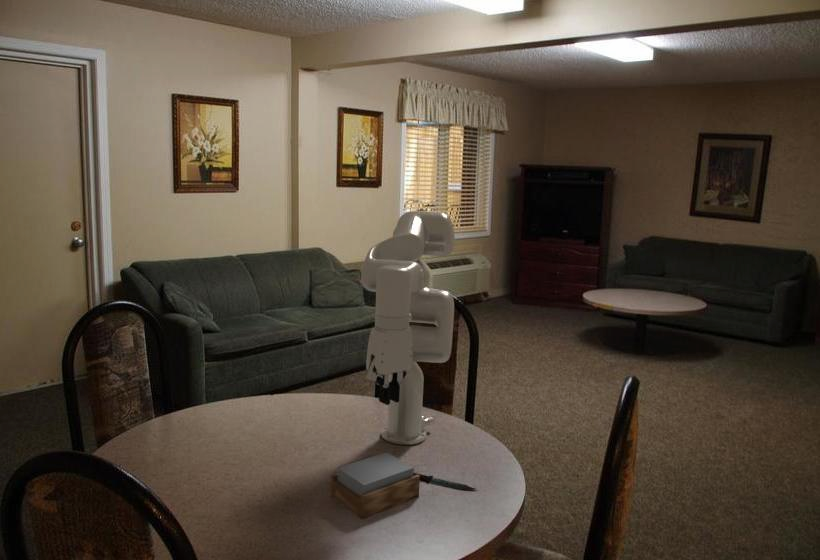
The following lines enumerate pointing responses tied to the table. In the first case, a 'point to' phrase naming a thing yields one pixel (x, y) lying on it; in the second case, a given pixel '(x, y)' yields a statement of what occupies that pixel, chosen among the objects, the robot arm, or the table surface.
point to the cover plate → (374, 473)
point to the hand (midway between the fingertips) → (389, 401)
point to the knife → (443, 482)
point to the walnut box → (375, 496)
